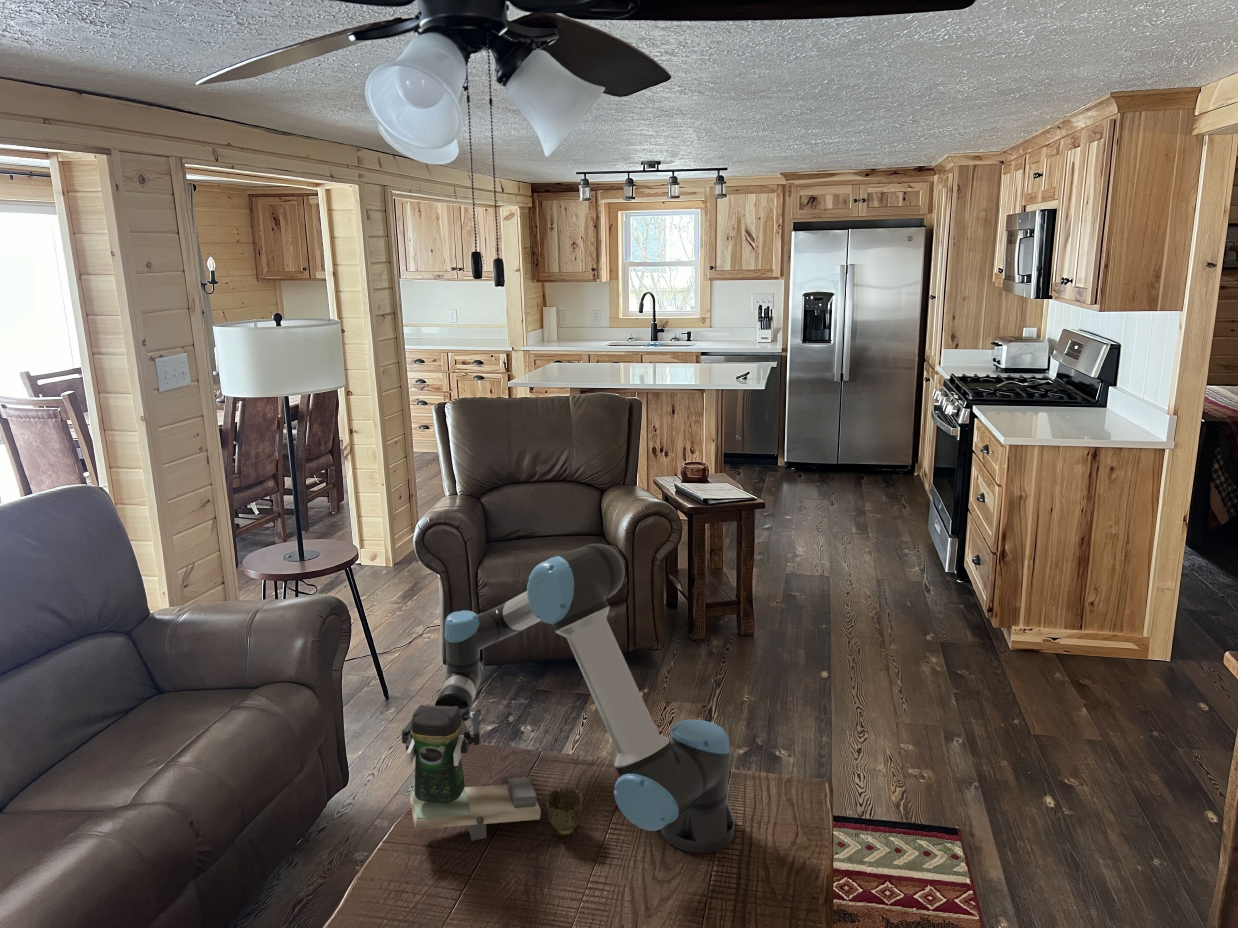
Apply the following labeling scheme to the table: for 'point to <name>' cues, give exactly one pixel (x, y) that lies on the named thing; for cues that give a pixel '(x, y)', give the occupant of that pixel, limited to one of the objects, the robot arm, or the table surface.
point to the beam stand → (477, 831)
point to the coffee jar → (437, 754)
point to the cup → (564, 810)
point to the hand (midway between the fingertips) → (432, 759)
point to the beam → (480, 806)
